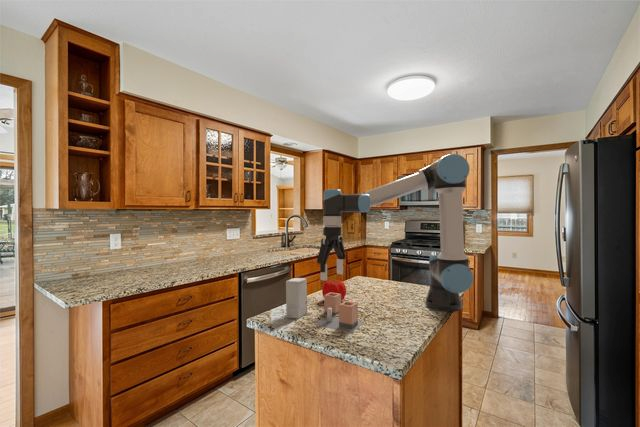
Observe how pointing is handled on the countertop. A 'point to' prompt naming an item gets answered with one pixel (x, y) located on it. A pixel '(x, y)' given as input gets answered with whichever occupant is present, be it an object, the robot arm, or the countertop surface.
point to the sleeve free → (332, 302)
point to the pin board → (334, 322)
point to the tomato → (334, 288)
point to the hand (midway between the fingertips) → (332, 277)
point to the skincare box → (296, 297)
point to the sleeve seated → (348, 314)
